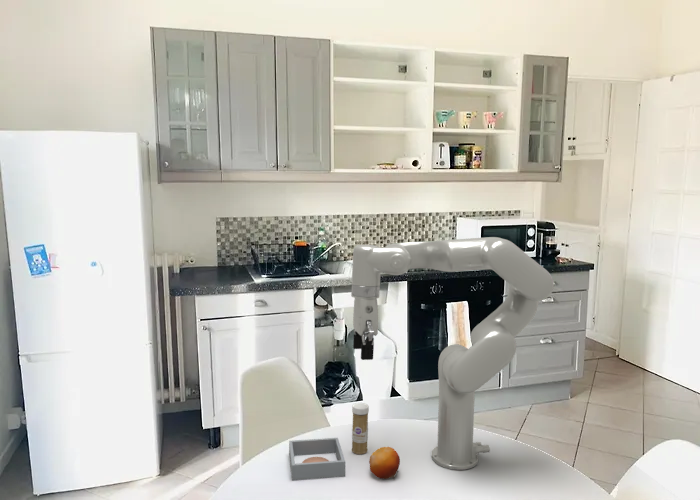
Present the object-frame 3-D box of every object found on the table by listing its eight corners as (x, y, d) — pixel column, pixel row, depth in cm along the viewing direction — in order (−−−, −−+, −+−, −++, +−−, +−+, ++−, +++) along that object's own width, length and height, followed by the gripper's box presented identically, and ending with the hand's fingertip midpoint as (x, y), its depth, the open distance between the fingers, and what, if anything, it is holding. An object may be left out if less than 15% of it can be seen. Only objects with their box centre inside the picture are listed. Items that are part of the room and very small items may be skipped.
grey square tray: (337, 451, 147) (337, 437, 147) (345, 476, 134) (345, 461, 133) (289, 454, 145) (289, 440, 144) (291, 480, 132) (291, 465, 131)
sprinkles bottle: (351, 454, 145) (352, 408, 144) (352, 447, 150) (352, 401, 148) (367, 455, 145) (368, 408, 144) (368, 447, 150) (368, 402, 148)
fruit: (405, 479, 130) (389, 451, 130) (378, 491, 132) (362, 464, 132) (408, 463, 138) (393, 437, 138) (382, 475, 140) (367, 449, 140)
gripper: (387, 297, 131) (384, 363, 133) (371, 285, 148) (368, 344, 150) (358, 297, 130) (355, 364, 132) (345, 285, 147) (343, 345, 148)
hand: (362, 353), depth 141 cm, fingers open, 9 cm apart
